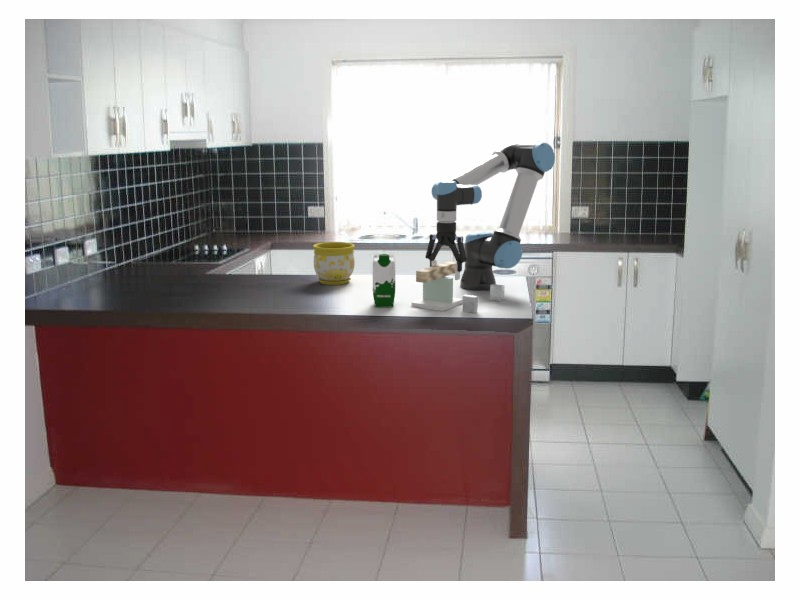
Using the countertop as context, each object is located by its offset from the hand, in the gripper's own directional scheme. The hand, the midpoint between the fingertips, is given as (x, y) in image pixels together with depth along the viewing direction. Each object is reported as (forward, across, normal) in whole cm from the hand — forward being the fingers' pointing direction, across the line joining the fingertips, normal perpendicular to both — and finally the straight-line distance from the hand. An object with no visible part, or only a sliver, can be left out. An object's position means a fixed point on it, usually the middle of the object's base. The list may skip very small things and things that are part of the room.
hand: (445, 278), depth 324 cm
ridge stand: (+9, 0, -6) cm, 11 cm away
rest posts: (+9, +16, +2) cm, 19 cm away
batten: (-2, 0, -6) cm, 6 cm away
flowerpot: (+10, -59, +6) cm, 60 cm away
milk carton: (+10, -17, -18) cm, 27 cm away
